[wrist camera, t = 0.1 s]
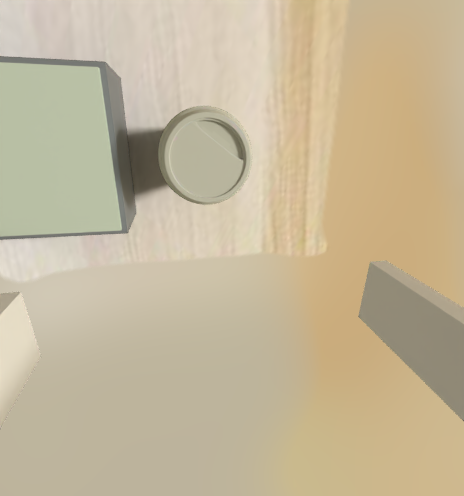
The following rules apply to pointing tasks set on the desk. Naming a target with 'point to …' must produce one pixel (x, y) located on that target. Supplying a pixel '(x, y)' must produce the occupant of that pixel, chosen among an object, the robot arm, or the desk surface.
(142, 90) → the desk surface
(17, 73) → the block
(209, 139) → the coffee cup
